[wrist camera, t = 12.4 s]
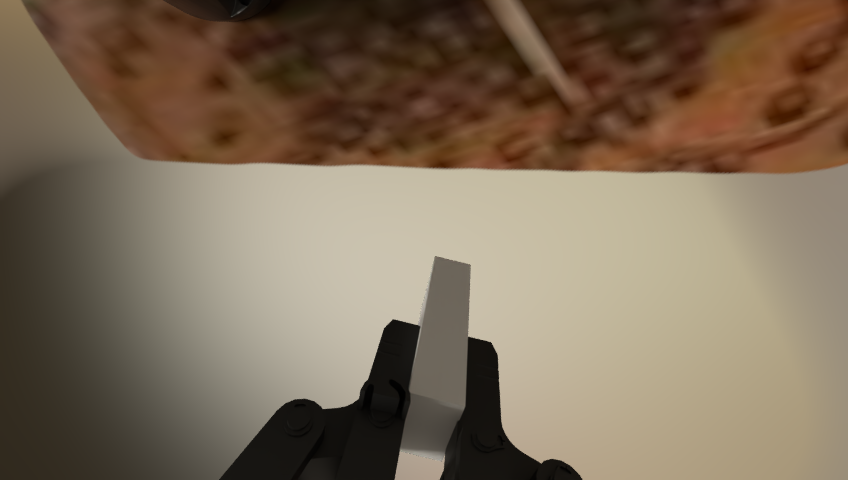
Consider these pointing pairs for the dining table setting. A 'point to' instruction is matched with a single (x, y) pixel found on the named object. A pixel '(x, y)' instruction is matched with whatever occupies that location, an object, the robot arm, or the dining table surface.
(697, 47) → the dining table surface
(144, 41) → the dining table surface
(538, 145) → the dining table surface
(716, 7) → the dining table surface
